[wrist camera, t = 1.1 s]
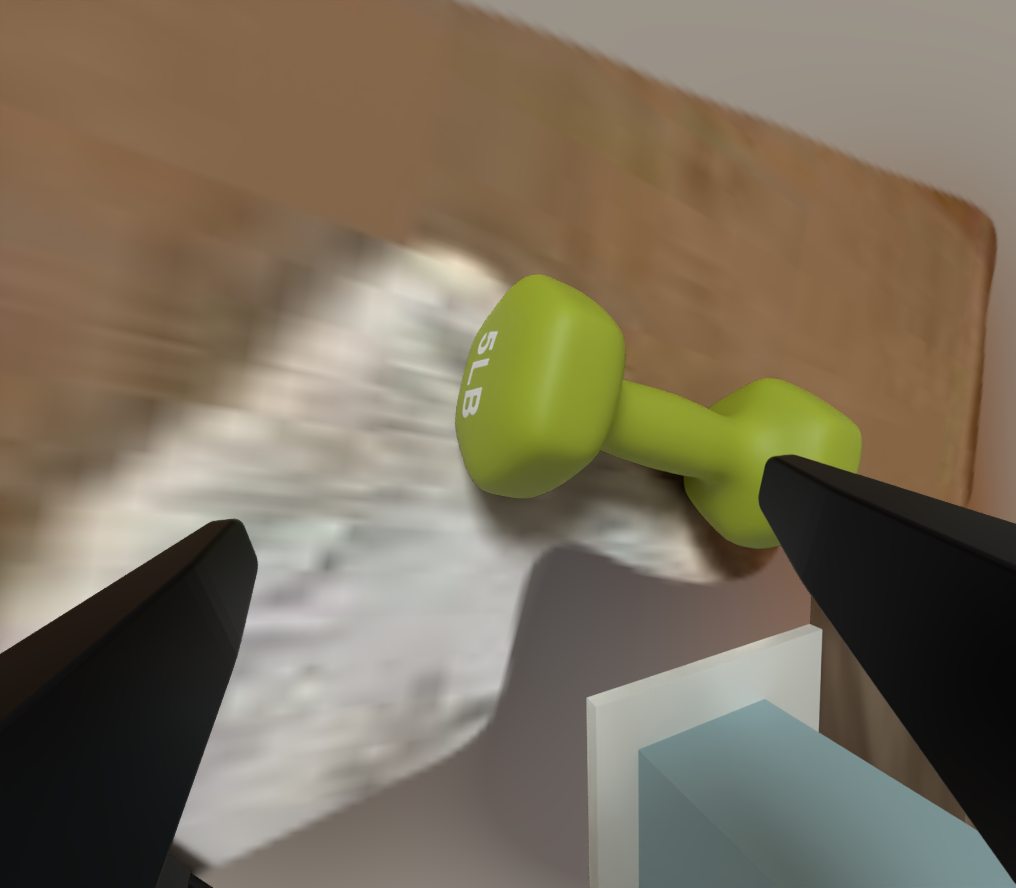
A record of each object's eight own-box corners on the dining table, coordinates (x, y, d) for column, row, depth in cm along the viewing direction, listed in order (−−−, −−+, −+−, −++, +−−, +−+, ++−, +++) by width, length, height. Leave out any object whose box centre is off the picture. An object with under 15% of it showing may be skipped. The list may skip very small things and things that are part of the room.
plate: (590, 988, 25) (599, 1006, 25) (586, 697, 24) (596, 706, 23) (801, 858, 32) (813, 868, 31) (809, 623, 31) (822, 629, 30)
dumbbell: (745, 394, 27) (893, 392, 20) (710, 536, 27) (848, 580, 20) (473, 280, 20) (565, 222, 13) (423, 470, 20) (492, 504, 13)
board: (801, 885, 32) (950, 1025, 25) (811, 592, 30) (977, 652, 23) (825, 869, 33) (976, 999, 26) (837, 585, 31) (1003, 640, 24)
